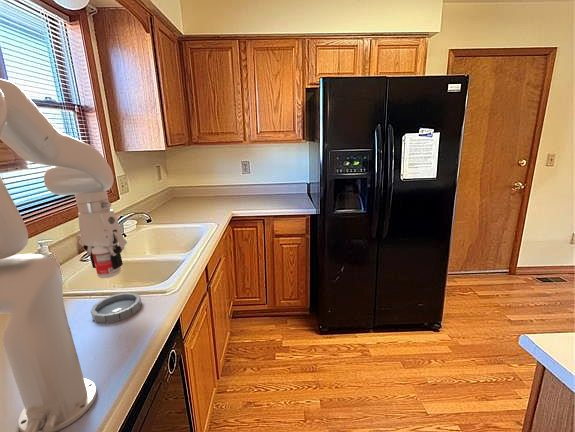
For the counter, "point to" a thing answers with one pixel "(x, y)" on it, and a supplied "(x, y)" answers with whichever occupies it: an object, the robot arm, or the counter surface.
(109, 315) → the round grey tray
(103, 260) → the pill bottle
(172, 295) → the counter surface
